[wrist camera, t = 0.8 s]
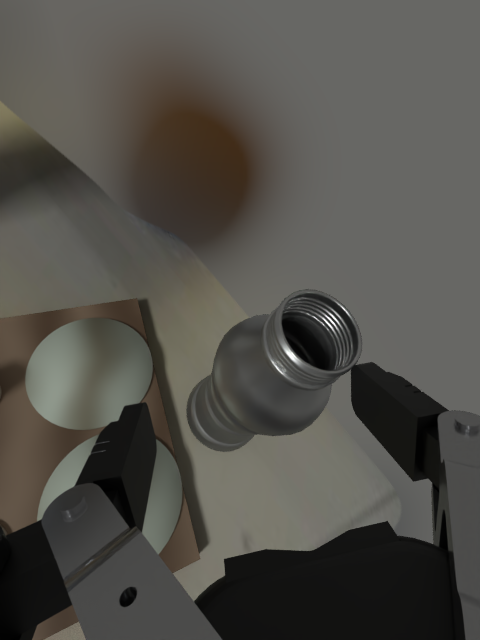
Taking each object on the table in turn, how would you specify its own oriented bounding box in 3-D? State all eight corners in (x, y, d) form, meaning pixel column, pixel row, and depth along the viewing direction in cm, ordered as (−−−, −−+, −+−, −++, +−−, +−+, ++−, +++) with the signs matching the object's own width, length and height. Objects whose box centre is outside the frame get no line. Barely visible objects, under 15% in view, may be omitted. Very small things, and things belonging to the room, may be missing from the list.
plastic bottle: (226, 370, 31) (322, 240, 14) (263, 428, 29) (424, 362, 12) (170, 403, 28) (204, 291, 11) (208, 469, 26) (318, 459, 9)
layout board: (-67, 689, 17) (-121, 744, 14) (-58, 334, 25) (-92, 311, 22) (197, 555, 24) (207, 569, 20) (137, 303, 32) (136, 282, 28)
